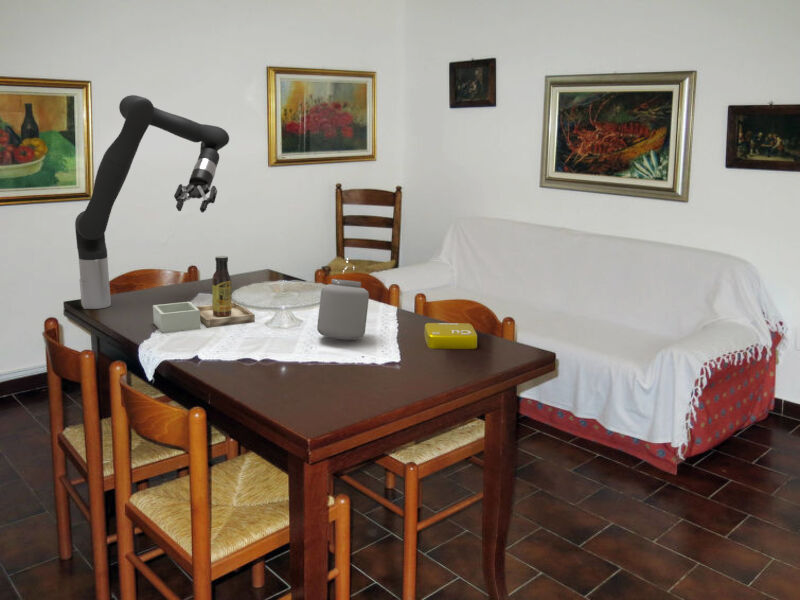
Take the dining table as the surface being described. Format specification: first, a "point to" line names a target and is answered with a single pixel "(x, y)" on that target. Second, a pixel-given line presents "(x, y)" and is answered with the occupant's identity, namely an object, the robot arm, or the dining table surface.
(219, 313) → the sauce bottle
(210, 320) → the tray
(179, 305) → the box
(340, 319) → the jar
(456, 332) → the element tile
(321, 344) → the dining table surface
